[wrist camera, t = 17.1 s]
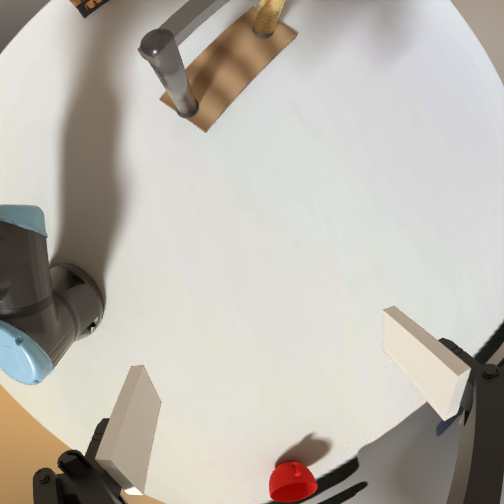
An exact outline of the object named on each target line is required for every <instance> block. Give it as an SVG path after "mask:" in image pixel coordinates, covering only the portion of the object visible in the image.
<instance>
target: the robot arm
mask: <svg viewBox="0 0 504 504" xmlns="http://www.w3.org/2000/svg"><path fill="white" fill-rule="evenodd" d="M47 237H48V235H47V233H46V229H45V219H44V213H43V211H42V210H41V209H40V208H39V207H38V206H34V205H0V369H1V370H2V371H4V372H5V373H6V374H7V375H8V376H9V377H11V378H12V379H14V380H16V381H18V382H20V383H22V384H26V385H36V384H39V383H40V382H42V381H43V380H44V379H45V377H46V376H47V375H49V374H50V373H51V372H52V371H53V369H54V367H55V366H56V365H57V363H58V362H59V361H60V359H61V358H62V357H63V355H64V354H65V353H66V351H67V350H68V349H69V347H70V346H71V345H72V343H73V342H75V341H77V340H80V339H82V338H85V337H87V336H89V335H90V334H92V333H93V332H94V331H95V329H96V328H97V327H98V325H99V324H100V322H101V320H102V317H103V300H102V296H101V293H100V291H99V289H98V287H97V285H96V283H95V282H94V281H93V279H92V278H91V277H90V276H89V275H88V274H87V273H86V272H85V271H83V270H82V269H80V268H78V267H76V266H74V265H70V264H59V265H56V266H54V267H52V268H51V269H49V261H48V252H47V241H46V238H47ZM382 350H383V352H384V353H385V354H386V355H387V356H388V357H389V358H390V359H391V360H392V362H393V363H394V364H395V365H396V366H397V367H398V368H399V369H400V371H401V372H402V373H403V374H404V375H405V376H406V377H407V378H408V380H409V381H410V382H411V383H412V384H413V385H414V386H415V388H416V389H417V390H418V391H419V392H420V393H421V394H422V396H423V397H424V398H425V399H426V400H427V401H428V403H429V404H430V405H431V406H432V407H433V408H434V410H435V411H436V412H437V413H438V414H439V415H440V417H441V418H442V419H443V420H444V421H445V420H447V419H449V418H450V417H452V416H454V415H455V414H457V412H458V409H459V406H460V405H461V406H462V407H463V408H464V411H463V414H462V417H461V419H460V422H459V424H461V422H462V426H461V434H460V442H459V449H458V455H457V460H456V466H455V471H454V476H453V480H452V484H451V489H450V493H449V496H448V500H447V504H500V497H501V491H502V482H503V473H504V366H503V367H500V368H499V367H498V366H496V365H493V364H484V365H481V364H480V363H479V362H478V361H476V360H475V359H474V358H473V357H471V356H470V355H469V354H468V353H466V352H465V351H463V349H461V348H460V347H458V346H457V345H456V344H455V343H454V342H452V341H450V340H448V339H445V338H441V339H439V340H437V339H435V338H434V337H433V336H432V335H430V334H429V333H428V332H427V331H425V330H424V329H423V328H422V327H420V326H419V325H418V324H417V323H415V322H414V321H413V320H412V319H410V318H409V317H408V316H407V315H405V314H404V313H403V312H401V311H400V310H399V309H398V308H396V307H395V306H392V307H389V308H386V309H383V343H382ZM160 407H161V400H160V398H159V396H158V394H157V392H156V390H155V388H154V386H153V384H152V382H151V380H150V377H149V375H148V373H147V371H146V369H145V367H144V365H138V366H131V368H130V370H129V373H128V375H127V377H126V380H125V382H124V385H123V387H122V389H121V392H120V394H119V397H118V399H117V402H116V404H115V407H114V409H113V412H112V414H111V417H110V418H103V419H102V421H101V422H100V423H99V424H98V425H97V427H96V429H95V432H94V435H93V437H92V441H91V442H90V444H89V447H88V449H87V452H86V454H85V457H84V456H83V455H82V453H81V452H80V451H78V450H68V451H66V452H64V453H63V454H61V456H60V457H59V459H58V462H57V464H58V467H59V468H60V469H61V470H62V471H63V472H64V473H63V474H55V473H54V472H53V471H52V470H51V469H50V468H42V469H39V470H38V471H37V472H36V473H35V475H34V477H33V499H34V504H128V503H127V502H126V501H125V499H124V498H123V497H122V496H121V495H120V492H121V488H122V489H123V490H124V491H125V492H126V493H127V494H134V495H143V494H144V488H145V482H146V476H147V471H148V465H149V460H150V455H151V450H152V445H153V440H154V435H155V430H156V425H157V420H158V416H159V411H160Z"/></svg>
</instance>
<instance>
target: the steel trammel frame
mask: <svg viewBox="0 0 504 504" xmlns="http://www.w3.org/2000/svg"><path fill="white" fill-rule="evenodd" d="M228 1H230V0H190V1H188V2H187V3H186V4H185V5H184V6H182V7H181V8H180V9H179V10H178V11H177V12H175V13H174V14H173V15H172V16H171V17H170V18H169V19H168V20H167V21H166V22H164V23H163V24H162V25H161V26H160V27H159V28H158V29H155V30H152V31H150V32H149V33H147V34H146V35H145V36H144V37H143V39H142V41H141V44H140V47H139V48H138V49H137V50H138V51H139V53H140V54H141V56H142V57H143V58H144V59H146V60H147V61H148V62H149V63H150V65H151V66H152V68H153V70H154V71H155V73H156V75H157V76H158V78H159V79H160V81H161V83H162V84H163V86H164V88H165V89H166V91H167V92H168V94H169V96H170V97H171V99H172V101H173V102H174V104H175V105H176V107H177V109H178V110H179V112H180V113H181V114H182V115H184V116H190V115H192V114H193V113H194V112H195V111H196V108H197V105H196V102H195V99H194V96H193V93H192V90H191V87H190V84H189V81H188V78H187V75H186V72H185V69H184V66H183V63H182V59H181V56H180V53H179V50H178V46H179V45H180V44H181V43H182V42H183V41H184V40H185V39H186V38H187V37H188V36H189V35H190V34H191V33H192V32H193V31H195V30H196V29H197V28H198V27H199V26H200V25H201V24H202V23H203V22H204V21H206V20H207V19H208V18H209V17H210V16H211V15H212V14H214V13H215V12H216V11H217V10H218V9H220V8H221V7H222V6H223V5H225V4H226V3H227V2H228Z"/></svg>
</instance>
